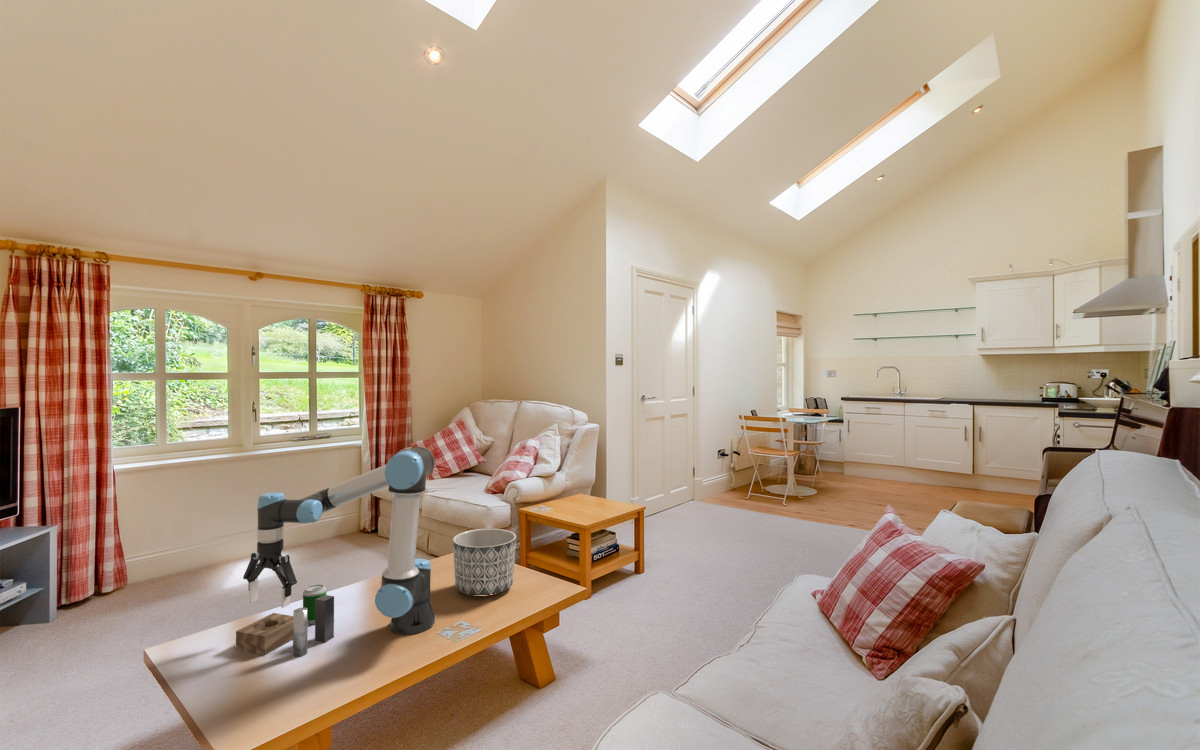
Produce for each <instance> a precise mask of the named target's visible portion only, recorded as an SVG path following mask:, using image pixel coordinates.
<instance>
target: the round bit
mask: <svg viewBox="0 0 1200 750" xmlns="http://www.w3.org/2000/svg"><path fill="white" fill-rule="evenodd" d="M292 612H293V615H292V616H293V640H292V656H293V657H294V658H301V657H304V656H306V655H307V654H308V626H309V624H308V608H303V607H299V608H296V609H294V610H293V611H292Z"/></svg>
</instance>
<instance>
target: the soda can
mask: <svg viewBox="0 0 1200 750" xmlns="http://www.w3.org/2000/svg"><path fill="white" fill-rule="evenodd" d="M323 595H327V588H326V586H325V585H323V584H313V585H310V586H309V585H308V586H307V587H306V588H305V590H303V592H302V608H308V625H315V599H317V598H319V597H321V596H323Z"/></svg>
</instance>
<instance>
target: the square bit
mask: <svg viewBox="0 0 1200 750" xmlns="http://www.w3.org/2000/svg"><path fill="white" fill-rule="evenodd" d="M334 629H335V596H333V595H327V594H326V595H323V596H321V597H319V598H317V599H315V624H314V642H318V643H323V644H325V643H327V642H328V641H330V640H331V639H333V638H334V637H335V636H334V635H335V630H334Z"/></svg>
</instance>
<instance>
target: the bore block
mask: <svg viewBox="0 0 1200 750" xmlns="http://www.w3.org/2000/svg"><path fill="white" fill-rule="evenodd" d="M291 641H293V615H289V614H282V613H276V612H272V613H270V614H269V615H266V616H264V617H261V618H260V619H258V620H256V621H254V622H252V623H250V624H248V625H245V626H243V627H242V628H240V629H238V630H235V650H237V651H241V652H246V653H250V654H251V653H252V654H257V655H263V656H266V655H268V654H269V653H271V652H273V651H275V650H276V649H278V648H280V647H282V646H284V645H286V644H287V643H289V642H291Z"/></svg>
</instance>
